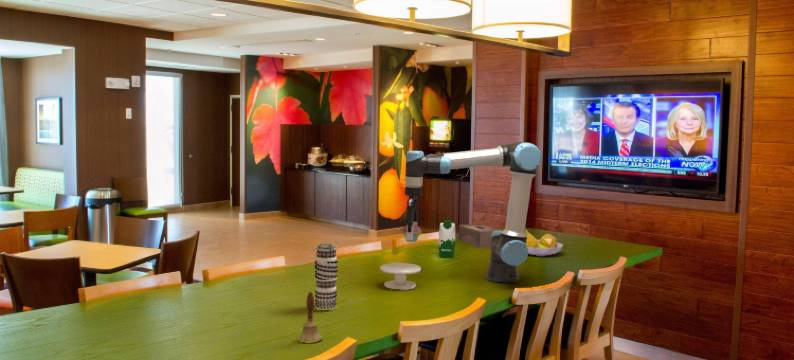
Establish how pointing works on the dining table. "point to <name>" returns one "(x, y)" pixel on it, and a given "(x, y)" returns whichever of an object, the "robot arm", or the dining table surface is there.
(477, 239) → the tissue box cover
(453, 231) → the milk carton
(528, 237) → the fruit bowl
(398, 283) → the cake stand
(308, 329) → the hand bell
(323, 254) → the decorative candle
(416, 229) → the cupcake
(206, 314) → the dining table surface
